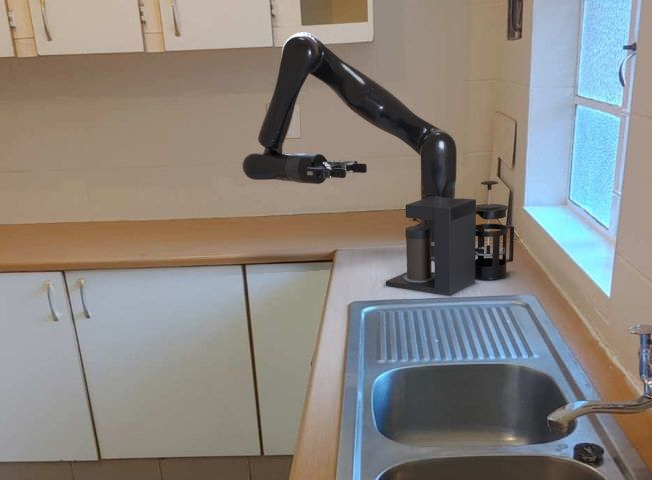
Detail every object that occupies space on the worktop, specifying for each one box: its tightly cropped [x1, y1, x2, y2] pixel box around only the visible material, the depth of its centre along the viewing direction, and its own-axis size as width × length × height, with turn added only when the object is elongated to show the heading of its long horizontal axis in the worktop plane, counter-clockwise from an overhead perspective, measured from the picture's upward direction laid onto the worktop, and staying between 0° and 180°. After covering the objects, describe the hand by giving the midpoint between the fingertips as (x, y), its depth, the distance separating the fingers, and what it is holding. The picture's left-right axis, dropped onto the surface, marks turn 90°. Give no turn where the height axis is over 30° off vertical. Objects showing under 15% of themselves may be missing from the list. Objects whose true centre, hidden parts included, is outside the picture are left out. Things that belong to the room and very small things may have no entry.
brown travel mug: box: [405, 225, 433, 280], centre depth 182 cm, size 6×6×12 cm
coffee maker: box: [385, 197, 477, 297], centre depth 179 cm, size 18×12×20 cm, turn 52°
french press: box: [475, 180, 515, 281], centre depth 183 cm, size 12×9×23 cm
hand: (355, 170), depth 187 cm, fingers open, 8 cm apart
